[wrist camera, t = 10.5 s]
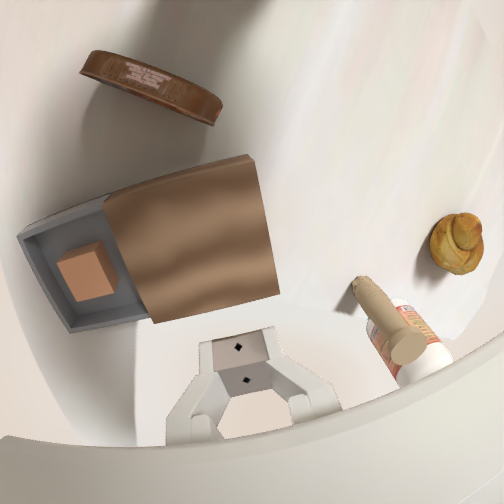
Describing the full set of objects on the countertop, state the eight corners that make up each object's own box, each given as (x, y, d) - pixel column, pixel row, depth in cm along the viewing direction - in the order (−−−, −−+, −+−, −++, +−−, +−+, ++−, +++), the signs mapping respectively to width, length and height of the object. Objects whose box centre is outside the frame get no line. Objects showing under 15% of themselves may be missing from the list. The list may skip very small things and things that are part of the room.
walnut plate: (114, 191, 32) (101, 204, 27) (247, 154, 32) (254, 161, 28) (158, 300, 39) (154, 323, 35) (271, 272, 40) (280, 293, 35)
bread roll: (474, 236, 44) (502, 256, 37) (445, 276, 46) (470, 299, 39) (448, 196, 39) (482, 215, 32) (415, 242, 42) (445, 267, 35)
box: (28, 225, 31) (16, 235, 28) (112, 192, 32) (103, 201, 28) (76, 318, 39) (69, 333, 35) (156, 300, 39) (153, 316, 36)
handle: (358, 303, 45) (404, 369, 32) (336, 283, 42) (384, 354, 29) (380, 282, 44) (432, 344, 31) (360, 260, 41) (416, 325, 28)
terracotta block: (94, 251, 31) (101, 240, 33) (56, 263, 30) (65, 251, 33) (114, 292, 34) (119, 280, 36) (77, 301, 33) (83, 289, 36)
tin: (94, 80, 25) (63, 73, 18) (107, 55, 24) (78, 41, 17) (211, 127, 30) (212, 132, 23) (224, 102, 29) (230, 99, 22)
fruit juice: (411, 290, 46) (508, 406, 21) (405, 327, 50) (482, 437, 26) (365, 307, 46) (456, 445, 21) (363, 344, 50) (433, 469, 26)
